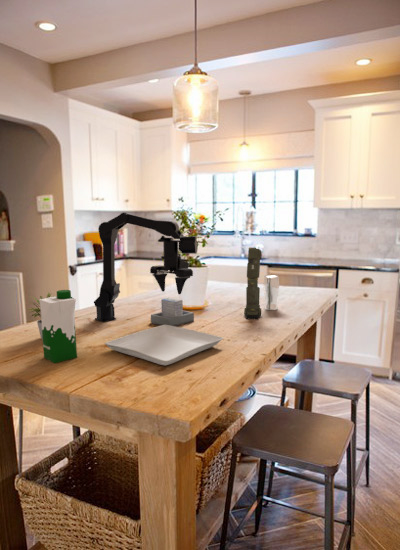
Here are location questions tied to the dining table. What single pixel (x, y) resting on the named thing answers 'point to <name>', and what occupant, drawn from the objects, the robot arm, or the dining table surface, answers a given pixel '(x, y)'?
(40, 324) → the house plant
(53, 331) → the milk carton
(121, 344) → the square plate
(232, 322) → the dining table surface
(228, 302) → the dining table surface
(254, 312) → the mechanical leg
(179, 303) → the medicine box
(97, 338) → the dining table surface
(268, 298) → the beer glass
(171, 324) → the bin
